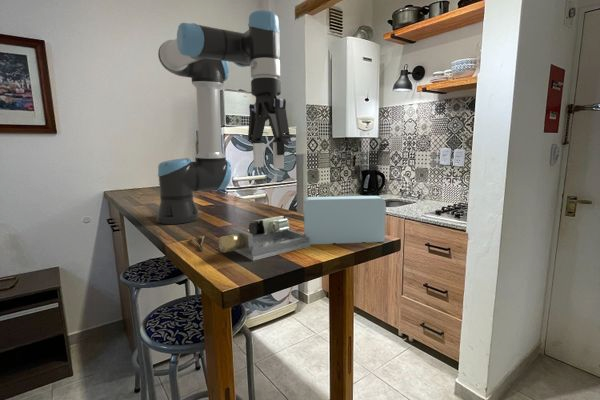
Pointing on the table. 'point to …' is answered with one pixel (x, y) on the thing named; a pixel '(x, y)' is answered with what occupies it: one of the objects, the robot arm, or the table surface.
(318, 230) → the pale blue rectangular block
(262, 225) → the pneumatic valve
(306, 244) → the cradle
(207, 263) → the table surface
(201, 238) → the tongs
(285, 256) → the table surface
